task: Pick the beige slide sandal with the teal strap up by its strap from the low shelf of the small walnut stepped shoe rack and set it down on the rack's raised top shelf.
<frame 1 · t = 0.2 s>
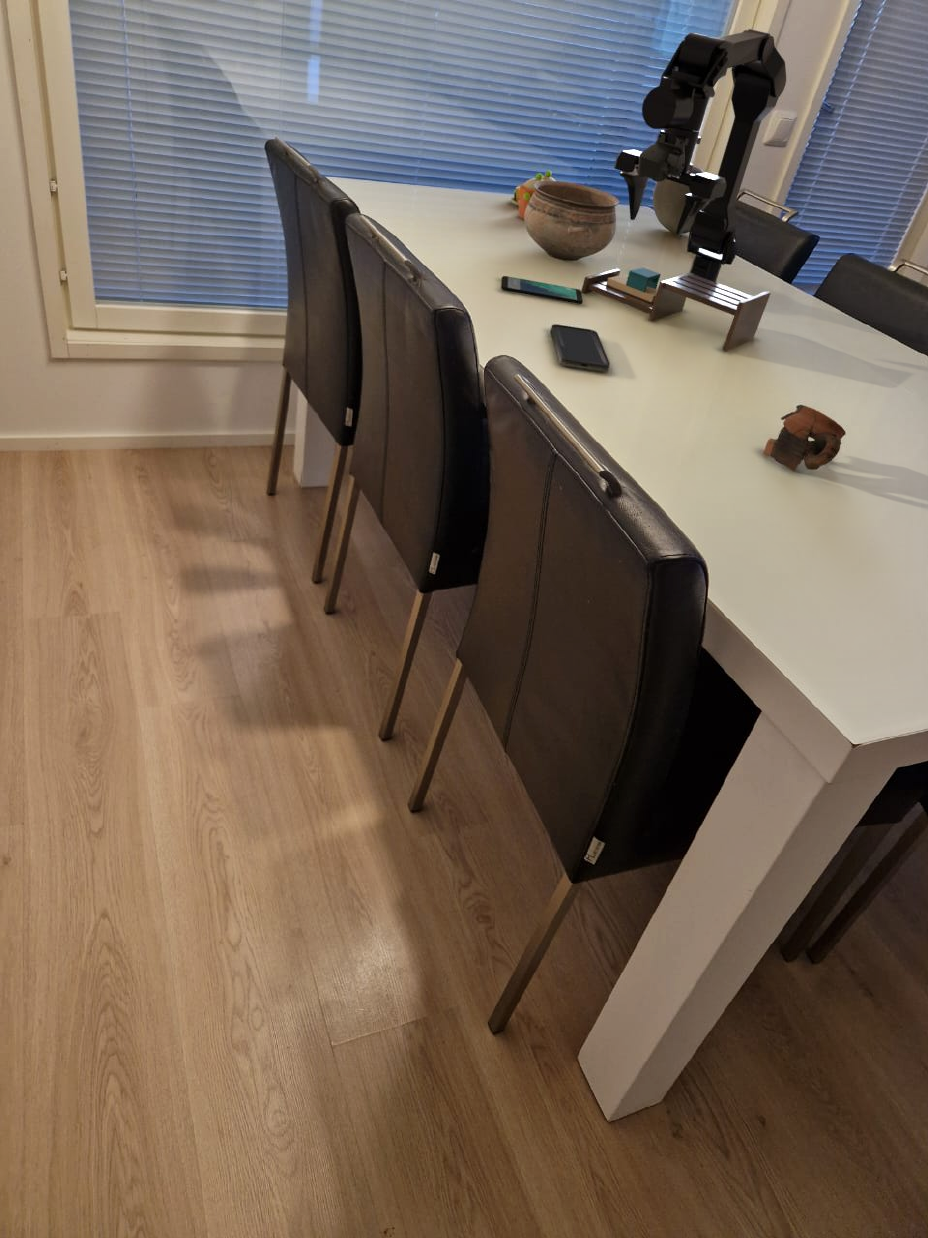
hand: (654, 227, 151), 14 cm above the table, tool pointing down, fingers open, 9 cm apart
smartphone: (540, 293, 159), on the table
phone: (577, 351, 139), on the table
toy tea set: (541, 213, 207), on the table
pottery mug: (799, 463, 119), on the table
sandal: (634, 291, 162), point 2 cm above the table, touching shoe rack
cantaloupe: (671, 232, 214), on the table
cooking pot: (562, 256, 181), on the table
shoe rack: (665, 315, 161), on the table
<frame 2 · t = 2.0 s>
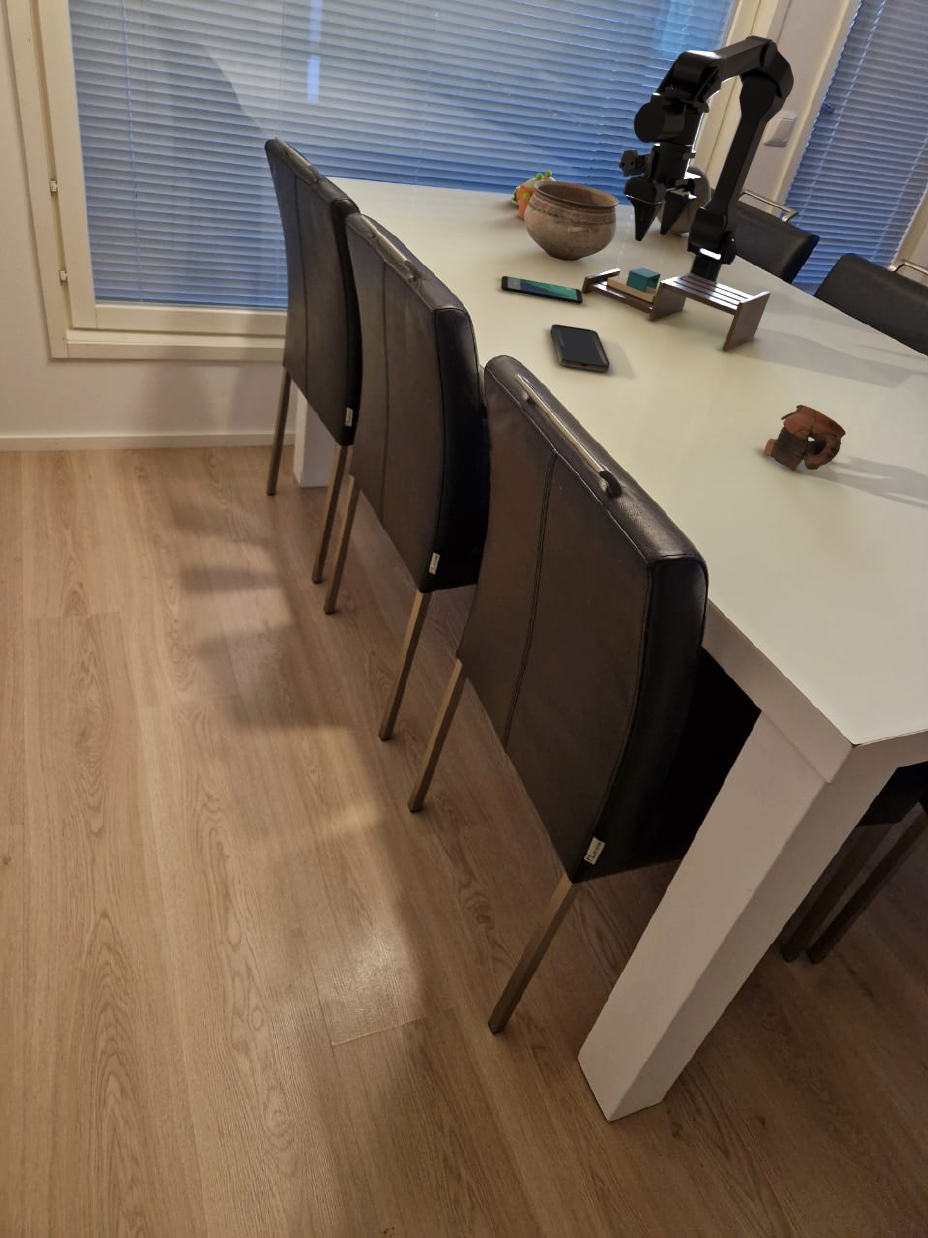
hand: (650, 237, 156), 12 cm above the table, tool pointing down, fingers open, 9 cm apart
nothing on the table moved.
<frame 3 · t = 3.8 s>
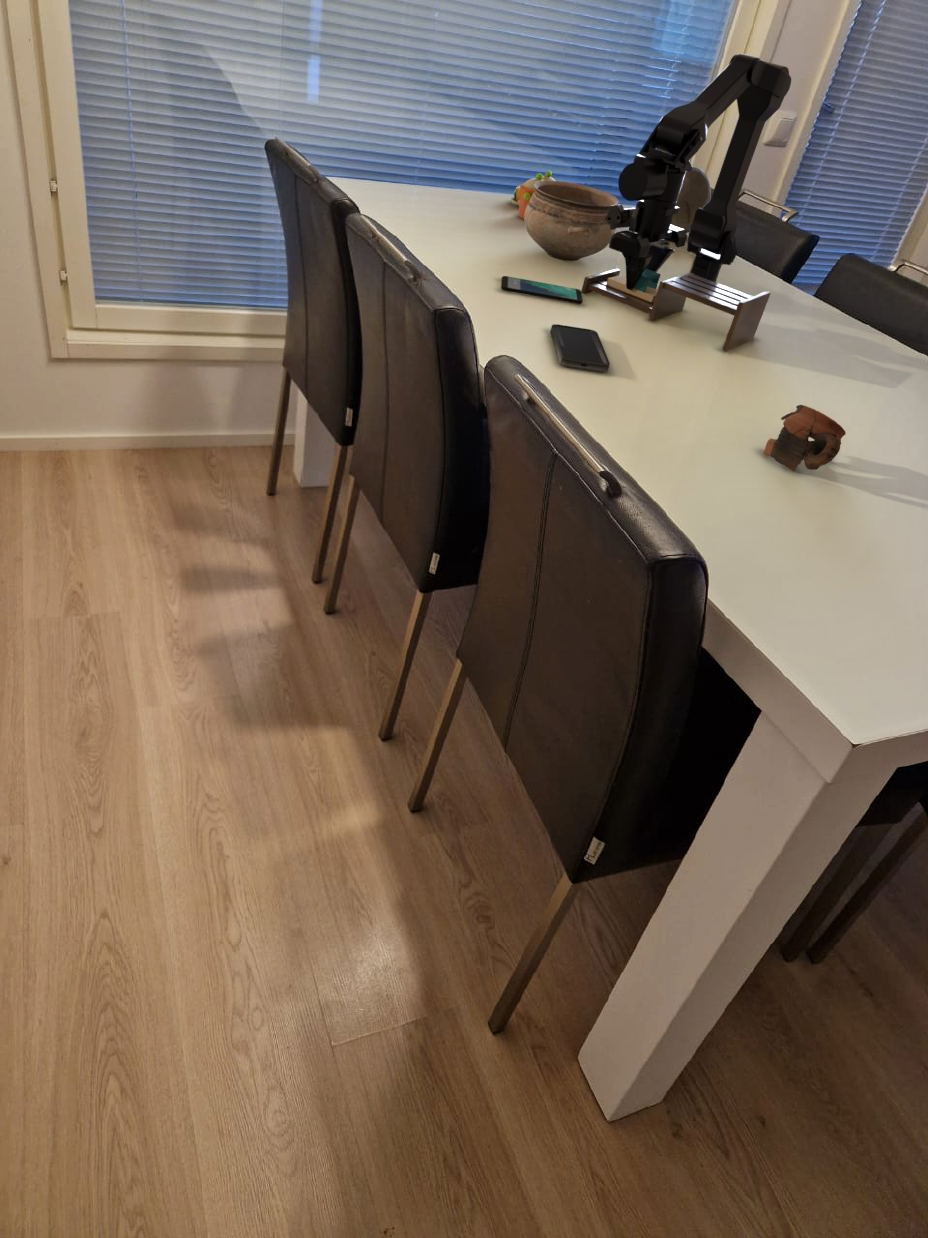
hand: (636, 287, 162), 3 cm above the table, tool pointing down, fingers closed on sandal, 5 cm apart
sandal: (634, 291, 162), point 2 cm above the table, touching gripper, shoe rack
everything else where it was.
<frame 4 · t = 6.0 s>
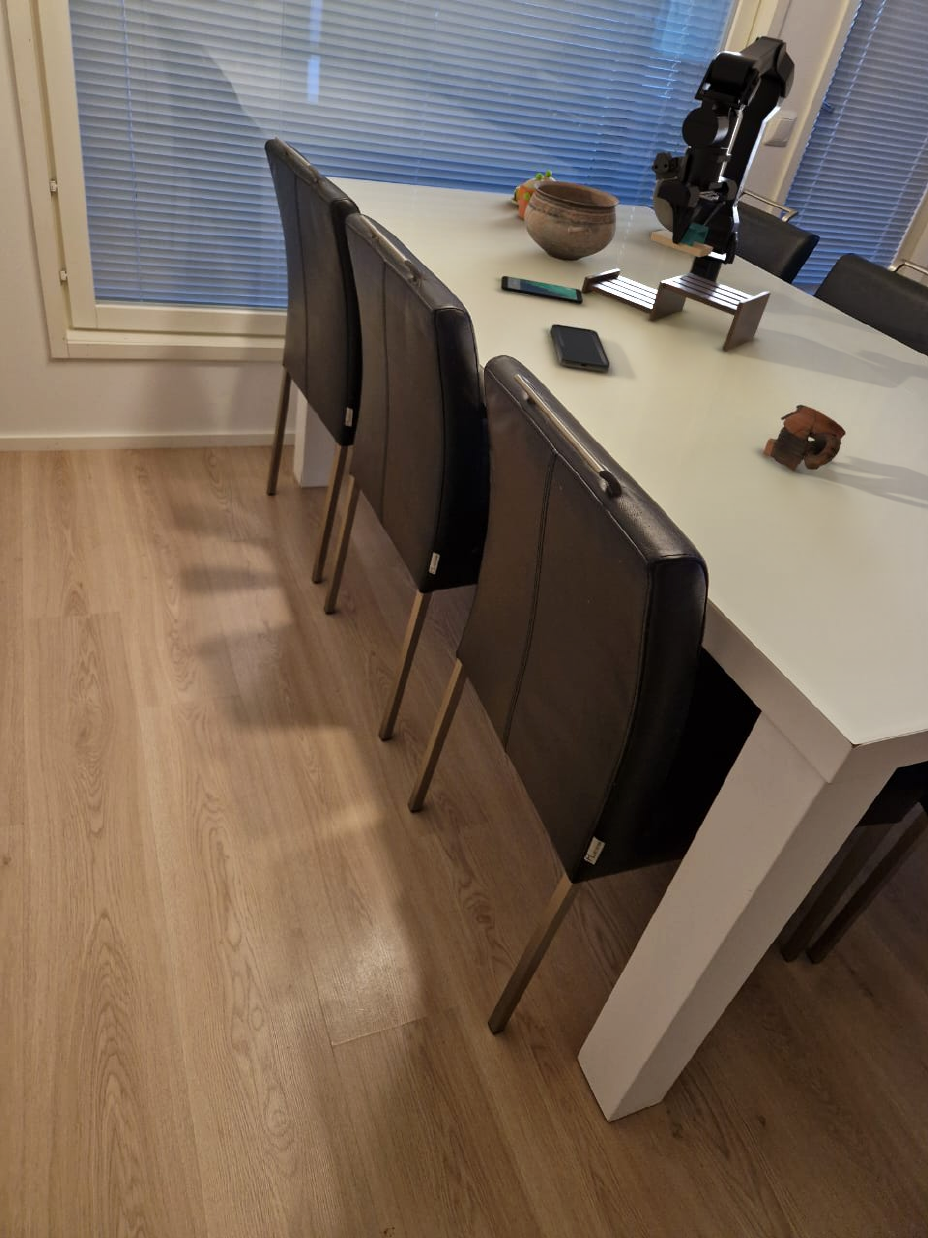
hand: (682, 241, 153), 13 cm above the table, tool pointing down, fingers closed on sandal, 5 cm apart
sandal: (680, 246, 154), point 12 cm above the table, touching gripper
everything else where it was.
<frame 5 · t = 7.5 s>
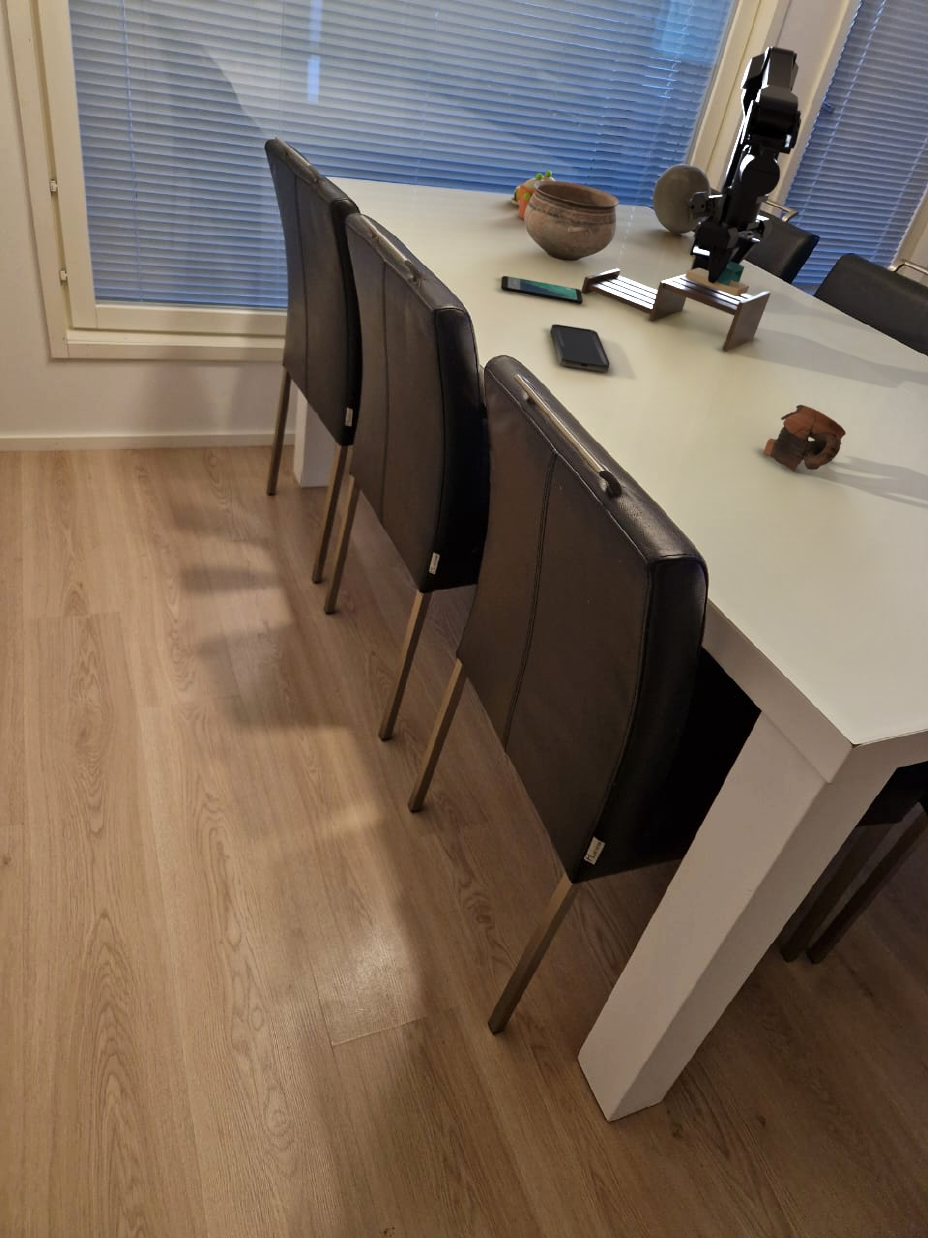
hand: (717, 280, 152), 9 cm above the table, tool pointing down, fingers closed on sandal, 5 cm apart
sandal: (715, 285, 153), point 8 cm above the table, touching gripper
everything else where it was.
when the fingers open (8 cm above the table, at t = 8.2 s): sandal stays where it is, resting on shoe rack.
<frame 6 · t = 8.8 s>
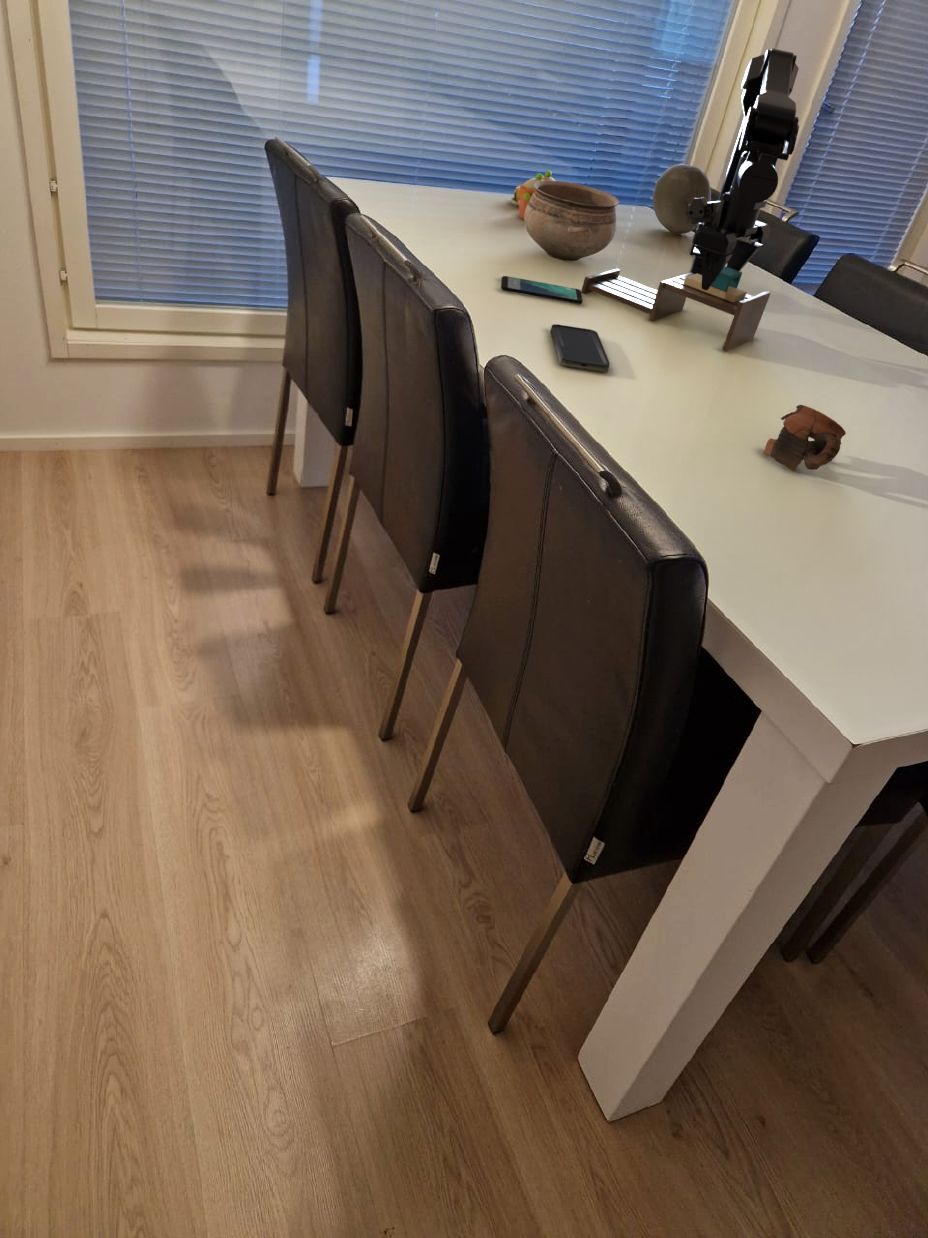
hand: (715, 285, 153), 8 cm above the table, tool pointing down, fingers open, 9 cm apart
sandal: (713, 291, 153), point 7 cm above the table, touching shoe rack
everything else where it was.
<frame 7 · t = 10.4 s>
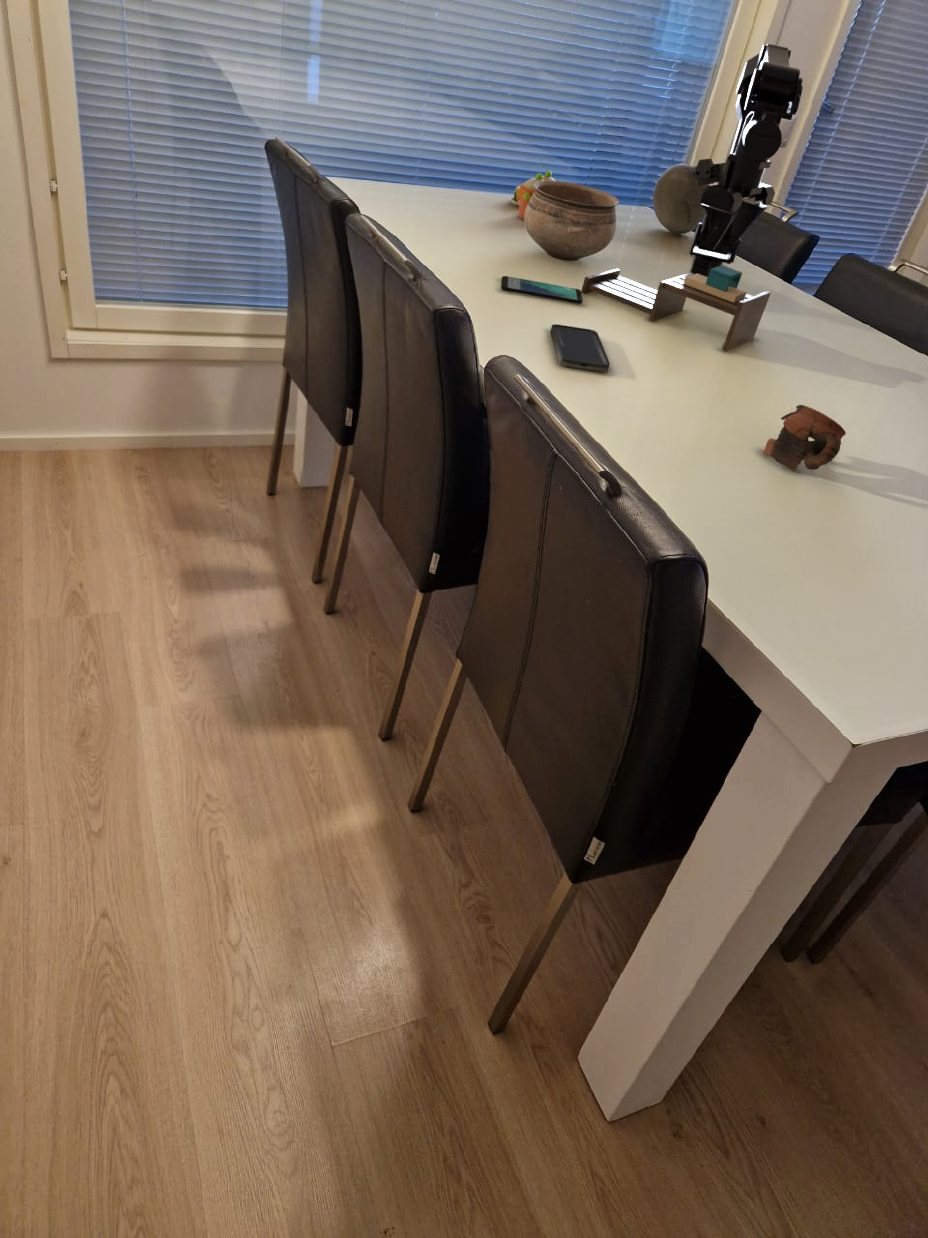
hand: (721, 245, 157), 12 cm above the table, tool pointing down, fingers open, 9 cm apart
nothing on the table moved.
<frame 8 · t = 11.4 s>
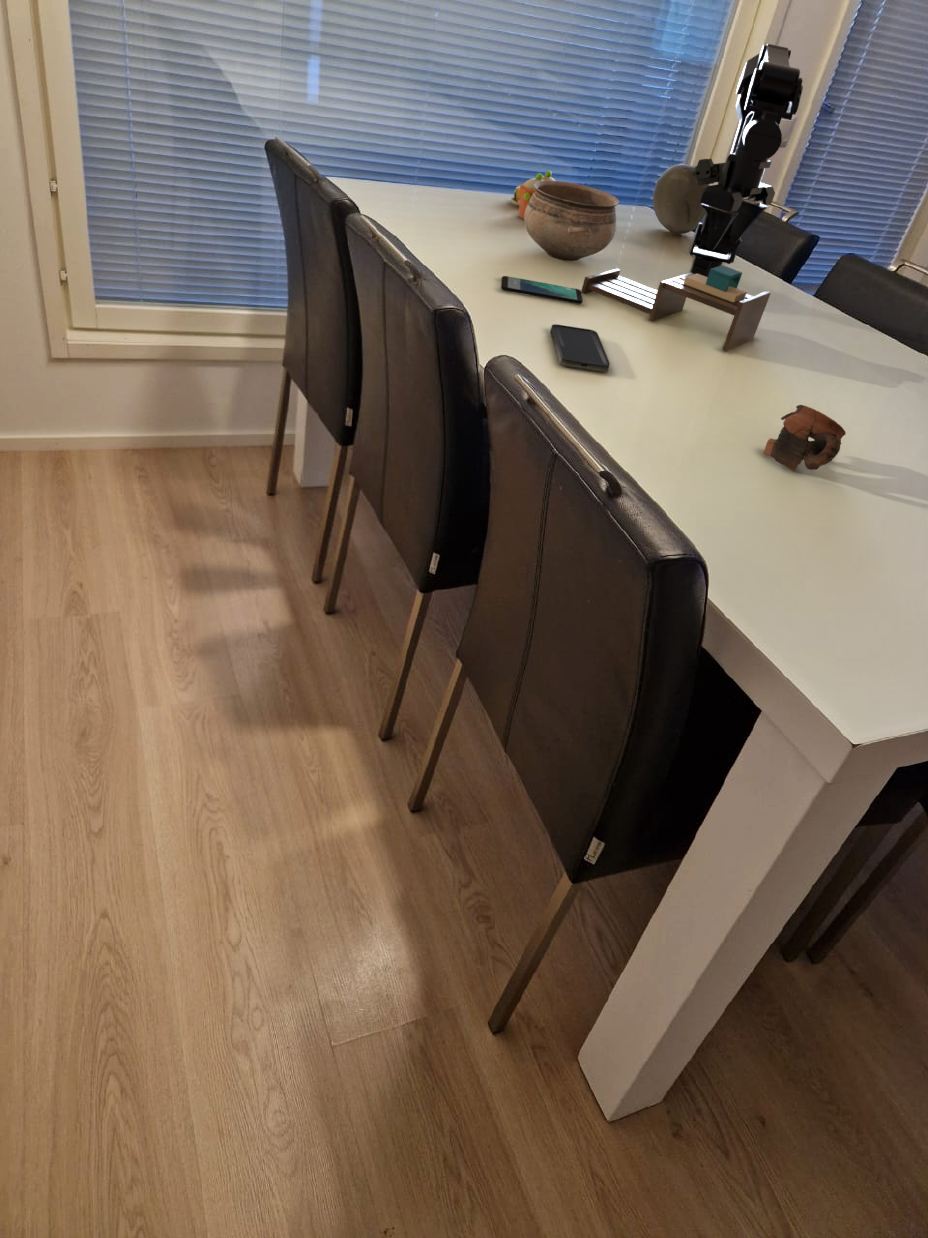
hand: (721, 245, 157), 13 cm above the table, tool pointing down, fingers open, 9 cm apart
nothing on the table moved.
at the end: sandal inside the target area on the shoe rack (0.4 cm from its centre), point 7.0 cm above the shoe rack's base; sandal tilted 0°; the gripper is holding nothing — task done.
